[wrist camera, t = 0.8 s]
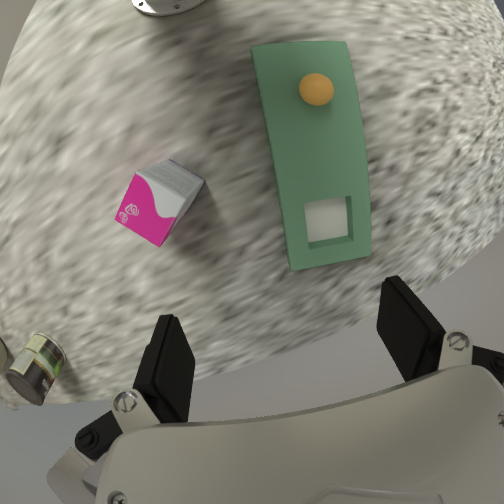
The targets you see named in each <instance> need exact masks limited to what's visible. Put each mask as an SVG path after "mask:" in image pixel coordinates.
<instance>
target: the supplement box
mask: <svg viewBox="0 0 504 504" xmlns="http://www.w3.org/2000/svg"><path fill="white" fill-rule="evenodd" d="M204 182H205V180H203V179H202V178H200V177H198V176H197V175H195V174H193V173H192V172H190V171H188V170H187V169H185V168H183V167H182V166H180V165H179V164H177V163H175V162H174V161H172V160H166V161H164V162H161V163H158V164H155V165H152V166H150V167H147V168H144V169H142V170H139V171H137V172H136V173H135V175H134V177H133V179H132V181H131V183H130V186H129V188H128V190H127V192H126V194H125V196H124V199H123V201H122V203H121V205H120V208H119V210H118V213H117V215H116V217H115V220H116V221H118V222H119V223H121V224H122V225H124V226H126V227H127V228H129V229H131V230H132V231H134V232H136V233H137V234H139V235H140V236H142V237H143V238H145V239H147V240H148V241H150V242H151V243H153V244H155V245H156V246H158V247H160V246H161V245H162V244H163V243H164V241H165V240H166V239H167V237H168V236H169V234H170V233H171V232H172V230H173V229H174V228H175V226H176V225H177V224H178V222H179V221H180V220H181V218H182V217H183V216H184V215H185V213H186V212H187V210H188V209H189V207H190V205H191V204H192V202H193V201H194V199H195V197H196V195H197V194H198V192H199V190H200V189H201V187H202V185H203V184H204Z"/></svg>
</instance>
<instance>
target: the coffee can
mask: <svg viewBox="0 0 504 504" xmlns="http://www.w3.org/2000/svg"><path fill="white" fill-rule="evenodd" d="M65 361H66V357H65V354H64V352H63V350H62V348H61V347H60V346H59V345H58V343H57V342H56V341H55V340H53V339H52V338H51V337H50V336H48V335H46V334H44V333H41V332H36V333H35V334H34V335H33V336H32V338H31V339H30V341H29V342H28V343H27V345H26V346H25V347H24V349H23V350H22V351H21V353H20V354H19V356H18V357H17V358H16V360H15V361H14V363H13V364H12V366H11V367H10V369H9V370H8V371H7V372H6V378H7V380H8V382H9V383H10V385H11V386H12V387H13V388H14V389H15V391H16V392H17V393H19V394H20V395H21V396H22V397H23V398H25V399H26V400H27V401H29V402H31V403H33V404H35V405H38V406H41V405H42V404H43V402H44V399H45V397H46V395H47V393H48V392H49V390H50V388H51V386H52V384H53V382H54V380H55V378H56V377H57V375H58V373H59V371H60V370H61V368H62V366H63V364H64V363H65Z"/></svg>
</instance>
